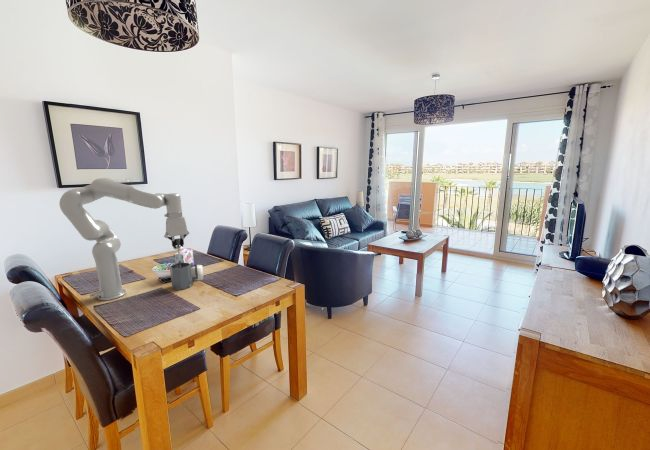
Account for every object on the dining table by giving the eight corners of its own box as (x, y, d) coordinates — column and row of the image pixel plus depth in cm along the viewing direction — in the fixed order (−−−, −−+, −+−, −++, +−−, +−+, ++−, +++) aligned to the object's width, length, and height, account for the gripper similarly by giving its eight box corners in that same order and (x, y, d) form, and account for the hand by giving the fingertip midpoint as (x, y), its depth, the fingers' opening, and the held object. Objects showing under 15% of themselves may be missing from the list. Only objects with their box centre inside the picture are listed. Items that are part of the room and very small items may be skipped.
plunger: (176, 275, 162) (172, 241, 158) (171, 271, 167) (168, 239, 163) (190, 271, 167) (186, 239, 163) (185, 268, 173) (182, 236, 169)
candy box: (185, 279, 180) (182, 254, 177) (175, 278, 181) (173, 254, 177) (195, 271, 194) (193, 248, 191) (186, 271, 194) (184, 248, 191)
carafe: (176, 291, 162) (173, 269, 159) (170, 286, 169) (167, 265, 167) (201, 284, 172) (199, 264, 169) (194, 279, 179) (192, 260, 176)
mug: (193, 281, 176) (192, 269, 174) (188, 277, 182) (187, 265, 181) (205, 278, 181) (204, 266, 179) (199, 274, 187) (198, 263, 186)
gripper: (160, 218, 152) (164, 250, 156) (192, 214, 164) (195, 245, 167) (156, 216, 158) (160, 248, 161) (187, 213, 169) (190, 243, 173)
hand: (178, 246), depth 164 cm, fingers closed on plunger, 3 cm apart
